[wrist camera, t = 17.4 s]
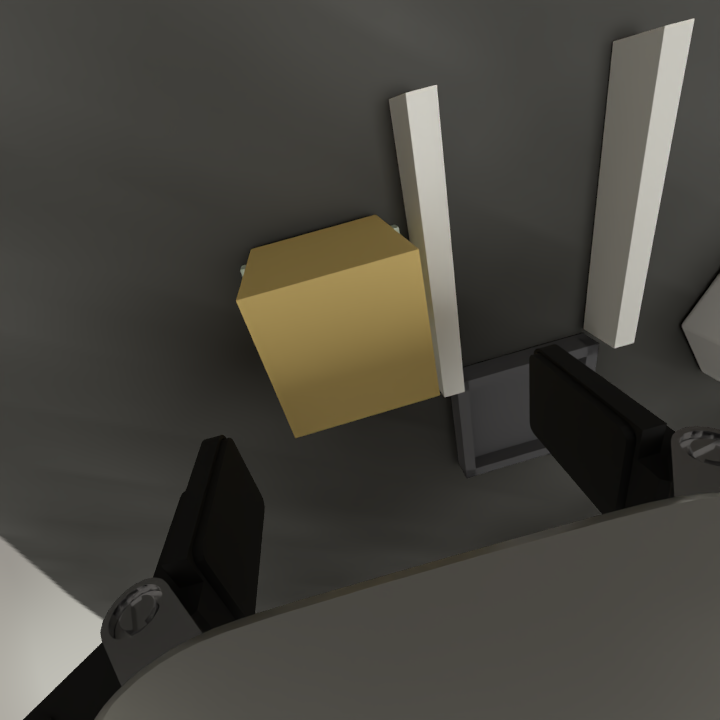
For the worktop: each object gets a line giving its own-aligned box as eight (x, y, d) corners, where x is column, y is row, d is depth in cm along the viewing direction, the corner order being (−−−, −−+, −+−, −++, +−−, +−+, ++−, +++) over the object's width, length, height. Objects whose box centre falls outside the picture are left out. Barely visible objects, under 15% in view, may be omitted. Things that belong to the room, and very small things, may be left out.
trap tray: (572, 429, 24) (585, 442, 23) (458, 463, 24) (466, 478, 23) (582, 333, 20) (598, 343, 19) (448, 371, 20) (457, 384, 19)
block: (397, 326, 17) (440, 395, 13) (292, 357, 17) (295, 438, 13) (375, 214, 15) (418, 249, 10) (250, 249, 15) (235, 300, 10)
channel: (601, 323, 20) (633, 342, 18) (429, 373, 20) (444, 397, 18) (638, 34, 14) (694, 18, 12) (388, 99, 14) (405, 92, 12)
